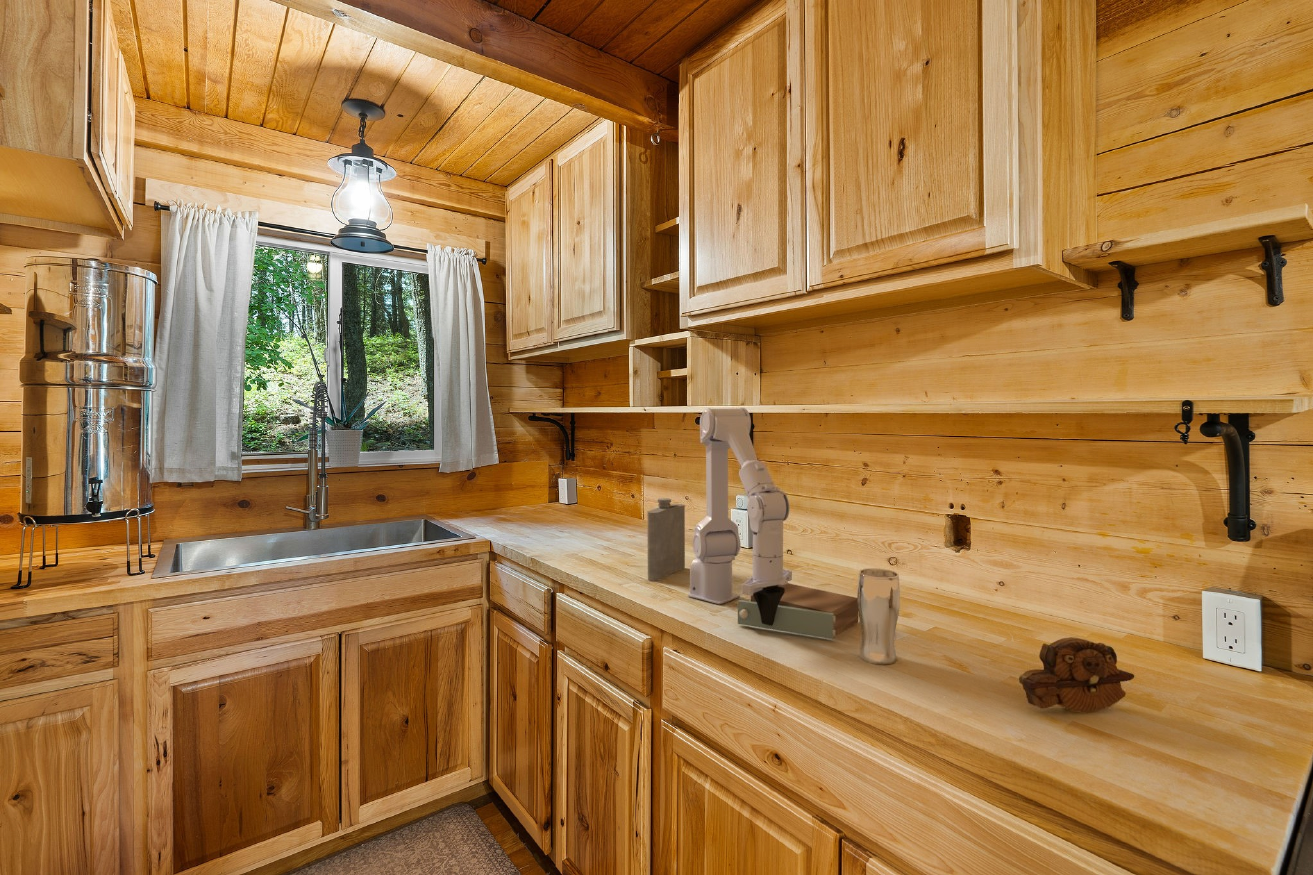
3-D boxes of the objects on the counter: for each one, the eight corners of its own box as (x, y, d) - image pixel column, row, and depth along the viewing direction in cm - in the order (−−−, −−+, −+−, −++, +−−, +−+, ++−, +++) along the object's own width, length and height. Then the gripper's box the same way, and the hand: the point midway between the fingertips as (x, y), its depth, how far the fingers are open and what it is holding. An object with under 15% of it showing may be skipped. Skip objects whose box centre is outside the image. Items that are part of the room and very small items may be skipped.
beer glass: (865, 647, 113) (866, 565, 113) (904, 656, 109) (905, 571, 108) (850, 659, 108) (851, 573, 107) (891, 669, 103) (892, 580, 103)
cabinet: (750, 617, 130) (750, 593, 130) (781, 603, 139) (781, 581, 138) (830, 638, 118) (830, 612, 117) (858, 622, 126) (858, 598, 126)
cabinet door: (735, 625, 123) (735, 602, 123) (739, 622, 125) (739, 599, 125) (833, 641, 115) (833, 616, 115) (835, 637, 117) (835, 613, 116)
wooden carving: (1040, 723, 86) (1042, 652, 85) (1015, 708, 90) (1016, 640, 90) (1141, 712, 89) (1142, 643, 88) (1111, 697, 93) (1113, 632, 93)
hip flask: (655, 582, 157) (655, 503, 156) (642, 579, 159) (641, 501, 158) (686, 568, 171) (686, 495, 170) (674, 566, 173) (673, 494, 172)
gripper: (764, 564, 111) (764, 639, 112) (805, 551, 122) (805, 619, 123) (732, 558, 116) (732, 630, 117) (774, 545, 127) (774, 611, 127)
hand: (767, 624), depth 120 cm, fingers closed
